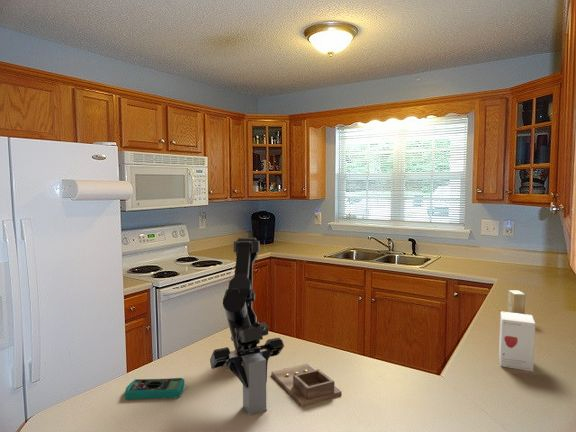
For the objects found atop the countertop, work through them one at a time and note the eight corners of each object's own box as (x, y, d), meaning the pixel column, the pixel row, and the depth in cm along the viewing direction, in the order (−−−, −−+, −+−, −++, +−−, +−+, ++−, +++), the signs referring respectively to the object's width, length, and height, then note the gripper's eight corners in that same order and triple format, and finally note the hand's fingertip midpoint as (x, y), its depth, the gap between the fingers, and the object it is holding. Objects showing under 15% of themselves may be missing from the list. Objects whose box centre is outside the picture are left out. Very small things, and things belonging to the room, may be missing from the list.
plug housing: (243, 406, 102) (242, 356, 102) (259, 401, 104) (259, 353, 104) (249, 415, 98) (248, 363, 98) (266, 410, 100) (266, 359, 100)
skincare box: (506, 318, 168) (507, 289, 168) (518, 318, 168) (519, 290, 167) (513, 323, 162) (514, 293, 161) (524, 324, 162) (525, 294, 161)
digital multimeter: (131, 387, 113) (131, 377, 113) (185, 386, 114) (185, 376, 114) (122, 401, 106) (122, 391, 106) (180, 400, 107) (179, 389, 106)
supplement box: (499, 366, 124) (501, 318, 123) (498, 355, 132) (499, 310, 131) (534, 372, 120) (536, 323, 119) (530, 360, 128) (532, 314, 127)
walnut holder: (271, 375, 119) (271, 361, 119) (306, 366, 125) (306, 354, 124) (301, 406, 102) (301, 390, 102) (341, 395, 108) (341, 380, 107)
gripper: (212, 318, 99) (226, 381, 90) (280, 307, 107) (300, 364, 98) (204, 338, 107) (217, 398, 98) (269, 327, 115) (286, 381, 106)
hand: (256, 385), depth 100 cm, fingers closed on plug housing, 4 cm apart
